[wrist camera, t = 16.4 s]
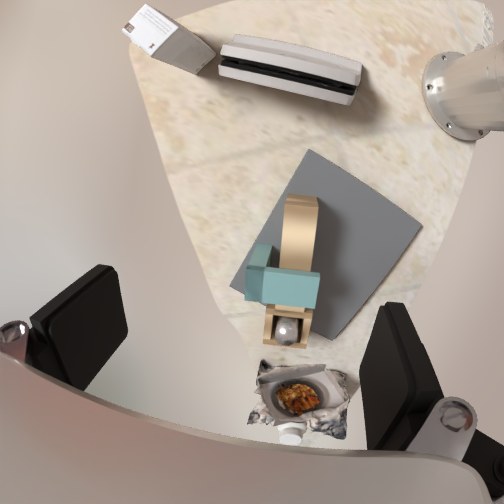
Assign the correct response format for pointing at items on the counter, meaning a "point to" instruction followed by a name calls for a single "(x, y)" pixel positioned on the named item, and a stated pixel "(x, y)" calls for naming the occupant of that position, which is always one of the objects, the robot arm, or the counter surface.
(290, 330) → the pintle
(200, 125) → the counter surface
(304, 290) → the bracket
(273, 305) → the wooden block with hole
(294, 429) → the supplement bottle
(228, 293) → the counter surface
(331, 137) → the counter surface
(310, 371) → the meal
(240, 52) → the white slotted curved device
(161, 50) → the skincare box
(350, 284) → the plate
